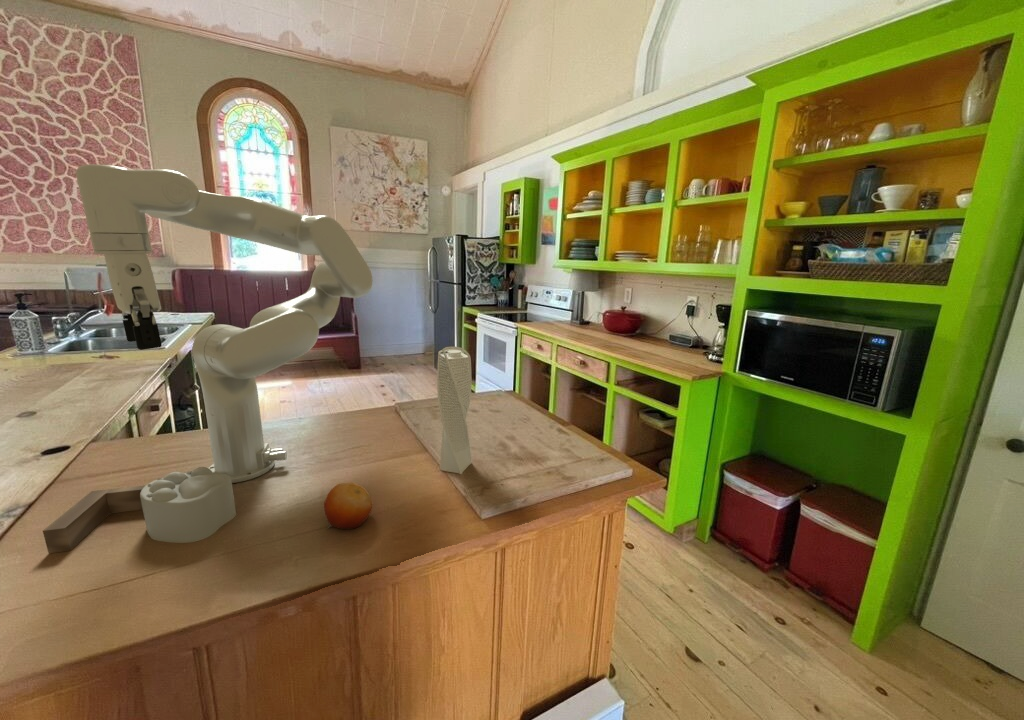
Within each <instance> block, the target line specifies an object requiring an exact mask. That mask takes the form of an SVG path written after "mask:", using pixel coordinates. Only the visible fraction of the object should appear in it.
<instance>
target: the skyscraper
mask: <svg viewBox="0 0 1024 720" xmlns="http://www.w3.org/2000/svg"><path fill="white" fill-rule="evenodd" d="M436 374H437V375H436V381H437V382H436V383H437V384H436V389H437V390H436V391H437V401H438V402H437V403H438V408H439V414H440V420H441V423H442V433H441V434H442V435H441V447H440V461H439V471H445V472H449V473H450V472H451V473H453V474H454V473H455V474H459V475H463V472H464V471H466V469H467V468H468V467H469V466H470V465H471V464H472V463H473V461H472V452H471V443H470V437H469V436H470V435H469V430H468V429H469V428H468V423H467V417H468V412H469V410H470V409H469V408H470V403H471V397H472V396H471V395H472V382H473V381H472V380H473V379H472V378H473V377H472V360H471V355H470V353H469V352H468V351H467V350H466V349H465V348H462V347H460V346H446V347H444V348H442V349H441V350H439V351H438V352H437V369H436Z"/></svg>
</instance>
